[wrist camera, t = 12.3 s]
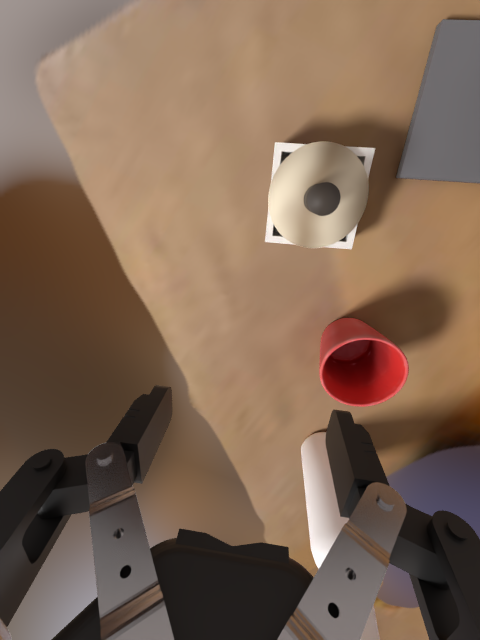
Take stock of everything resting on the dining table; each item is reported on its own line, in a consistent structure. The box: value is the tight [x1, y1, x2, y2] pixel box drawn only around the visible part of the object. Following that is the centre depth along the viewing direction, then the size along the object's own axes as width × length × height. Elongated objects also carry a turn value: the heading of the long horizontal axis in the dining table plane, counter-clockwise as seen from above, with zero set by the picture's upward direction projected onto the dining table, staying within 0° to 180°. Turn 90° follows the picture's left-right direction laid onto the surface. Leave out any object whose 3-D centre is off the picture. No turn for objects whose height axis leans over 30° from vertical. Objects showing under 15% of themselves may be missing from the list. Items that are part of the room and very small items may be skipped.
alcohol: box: [301, 432, 380, 640], centre depth 41 cm, size 9×9×30 cm
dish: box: [265, 142, 375, 249], centre depth 34 cm, size 11×11×5 cm
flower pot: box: [320, 318, 409, 406], centre depth 40 cm, size 11×11×10 cm
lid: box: [268, 141, 369, 248], centre depth 29 cm, size 11×11×6 cm
